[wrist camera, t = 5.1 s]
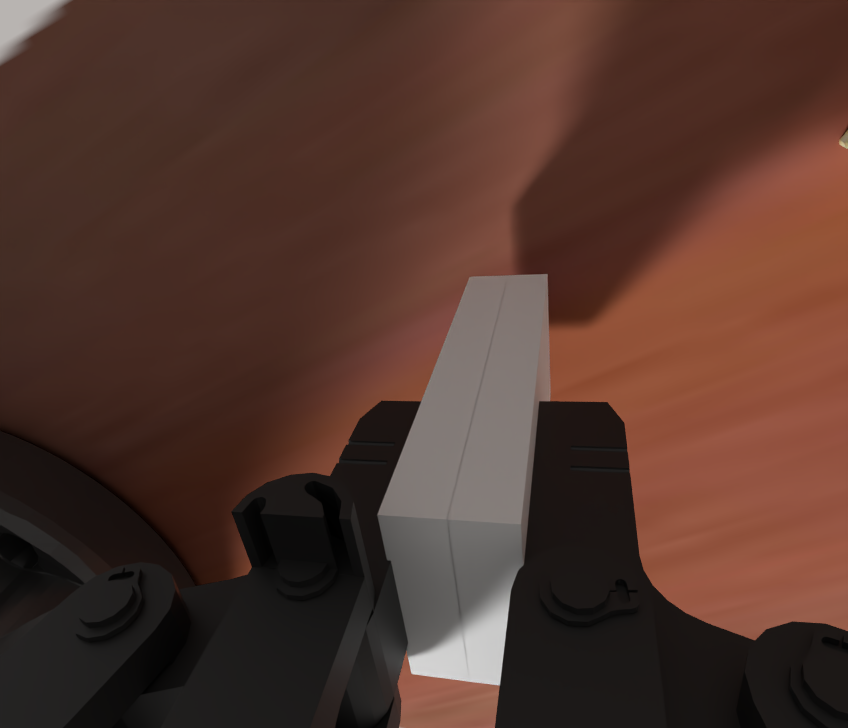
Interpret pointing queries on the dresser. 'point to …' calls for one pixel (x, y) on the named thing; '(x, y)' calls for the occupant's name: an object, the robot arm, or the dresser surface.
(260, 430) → the dresser surface
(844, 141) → the shard
